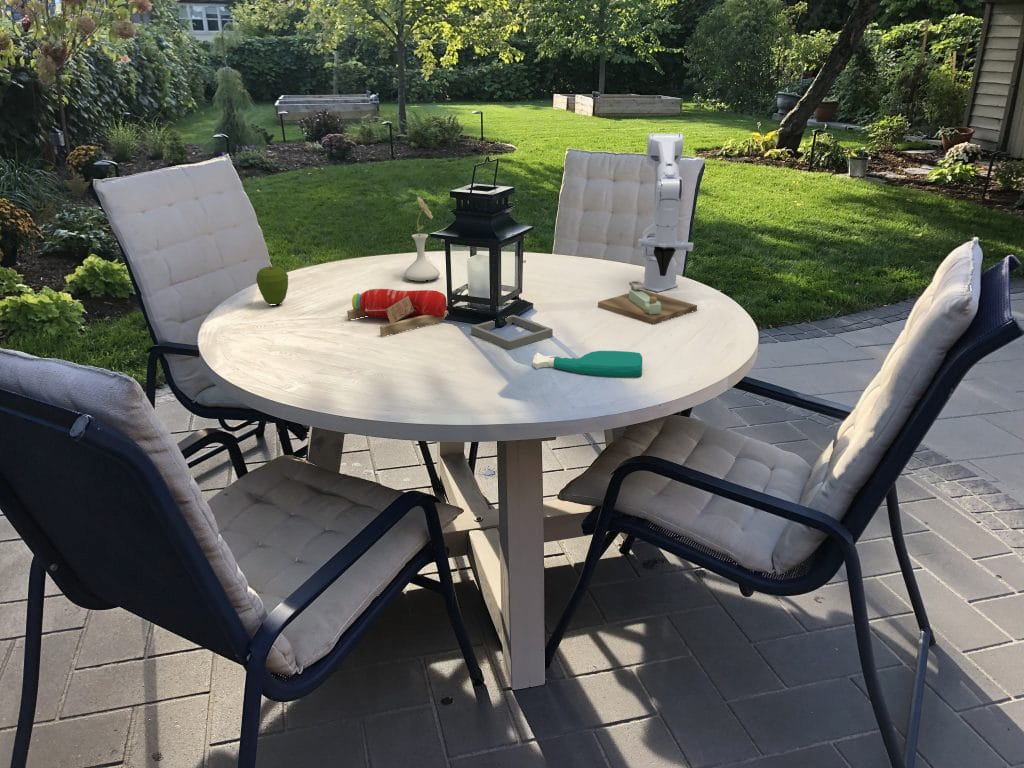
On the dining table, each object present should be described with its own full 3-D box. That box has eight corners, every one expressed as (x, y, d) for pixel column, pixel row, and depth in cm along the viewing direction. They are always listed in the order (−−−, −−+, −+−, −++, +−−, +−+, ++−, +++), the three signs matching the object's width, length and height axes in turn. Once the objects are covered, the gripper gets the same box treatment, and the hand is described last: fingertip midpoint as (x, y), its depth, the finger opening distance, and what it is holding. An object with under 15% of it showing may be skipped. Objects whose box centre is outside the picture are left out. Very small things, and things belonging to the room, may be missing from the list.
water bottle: (436, 304, 195) (341, 300, 199) (439, 332, 199) (346, 328, 203) (447, 283, 205) (356, 280, 209) (449, 310, 209) (361, 307, 213)
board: (641, 294, 226) (642, 275, 223) (696, 310, 211) (698, 290, 209) (597, 307, 215) (598, 287, 213) (653, 324, 201) (655, 303, 199)
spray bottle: (641, 380, 168) (529, 375, 172) (642, 362, 178) (536, 358, 182) (642, 368, 167) (529, 363, 171) (642, 350, 177) (536, 346, 181)
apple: (267, 311, 213) (262, 270, 208) (254, 305, 219) (249, 265, 214) (296, 305, 218) (292, 265, 214) (283, 298, 224) (278, 259, 219)
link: (662, 313, 204) (663, 304, 203) (648, 314, 203) (648, 305, 202) (640, 297, 217) (640, 289, 216) (627, 298, 216) (627, 290, 215)
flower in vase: (438, 284, 237) (434, 201, 227) (401, 284, 237) (396, 201, 228) (442, 272, 249) (439, 194, 239) (407, 272, 249) (402, 194, 240)
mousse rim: (513, 322, 203) (513, 314, 203) (552, 336, 193) (552, 329, 192) (471, 333, 195) (471, 326, 194) (509, 349, 185) (509, 341, 184)
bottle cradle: (411, 304, 218) (410, 296, 217) (448, 320, 205) (448, 311, 204) (348, 319, 206) (347, 310, 205) (383, 337, 193) (382, 327, 192)
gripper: (636, 225, 204) (633, 276, 209) (691, 230, 199) (687, 281, 204) (642, 220, 210) (639, 269, 215) (696, 224, 205) (691, 274, 210)
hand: (663, 275), depth 210 cm, fingers closed
